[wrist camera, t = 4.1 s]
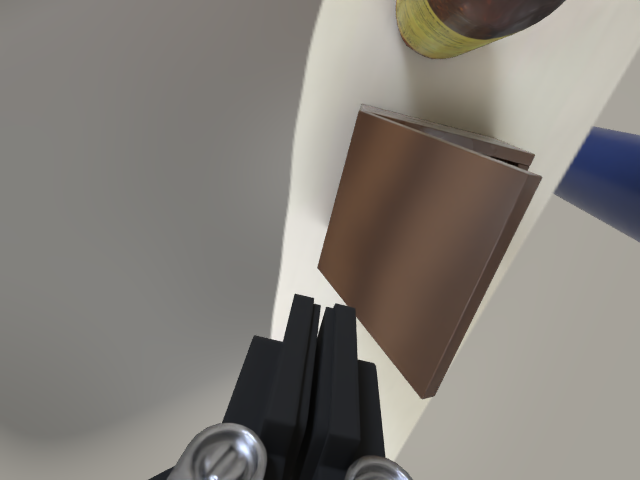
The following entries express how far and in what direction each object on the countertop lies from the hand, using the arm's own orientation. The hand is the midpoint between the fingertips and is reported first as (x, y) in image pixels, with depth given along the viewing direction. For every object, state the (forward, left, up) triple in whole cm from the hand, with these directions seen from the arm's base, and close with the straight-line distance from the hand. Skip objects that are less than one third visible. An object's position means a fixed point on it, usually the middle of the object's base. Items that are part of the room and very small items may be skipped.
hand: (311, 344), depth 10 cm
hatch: (-3, +1, -10) cm, 10 cm away
